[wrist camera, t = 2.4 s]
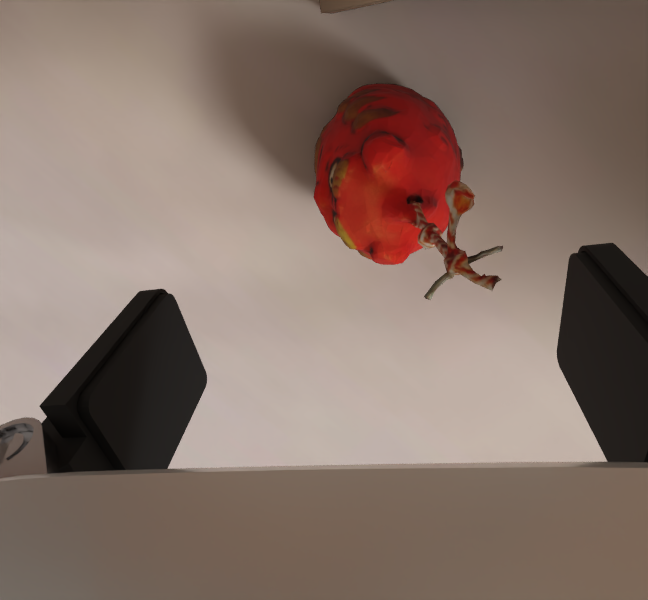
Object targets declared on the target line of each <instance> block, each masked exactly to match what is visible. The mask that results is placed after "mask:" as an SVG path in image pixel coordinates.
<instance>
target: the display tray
mask: <svg viewBox="0 0 648 600" xmlns="http://www.w3.org/2000/svg"><path fill="white" fill-rule="evenodd" d="M388 1H392V0H319V2H320V9H321V13H336V12H341V11H345V10H350V9H355V8H359V7H364V6H369V5H374V4H378V3H383V2H388Z"/></svg>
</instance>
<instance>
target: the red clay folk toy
mask: <svg viewBox="0 0 648 600" xmlns="http://www.w3.org/2000/svg"><path fill="white" fill-rule="evenodd" d="M463 166H464V165H463V158H462V152H461V149H460V147H459V146H458V144H457V140H456V137H455V134H454V131H453V129H452V127H451V125H450V123H449V121H448V120H447V118H446V117H445V115H444V114H443V113H442V111H441V110H440V109H439V108H438V106H437V105H436V104H435V103H434V102H432V101H431V100H429V99H427V98H425V97H422V96H421V95H420V94H418V93H417V92H415V91H414V90H412V89H409V88H406V87H403V86H399V85H395V84H378V83H376V84H369V85H364V86H362V87H359V88H358V89H356V90H355V91H353V92H352V93H351V94H350V95H349V96H348V98H347V99H345V100H344V101H343V102H342V103H341V104H340V105H339V106H338V110H337V114H336V115H335V117H334V118H333V119H332V120H331V121H330V122H329V123H328V124H327V125H326V126H325V127H324V128H323V130H322V132H321V135H320V137H319V138H318V141H317V143H316V148H315V173H316V187H315V192H314V199H315V201H316V204H317V206H318V208H319V210H320V212H321V214H322V215H323V216H324V219H325V221H326V223H327V225H328V227H329V228H330V230H331V231H332V232H333V233H334V234H336V235H337V236H339V237H341V239H342V240H343V242H344V243H345V245H346V246H348V247H349V248H350V249H356V250H358V252H359V253H360V254H361V255H362V256H364V257H366V258H368V259H372V260H373V261H374V262H376V263H379V264H383V265H395V264H399V263H403V262H404V261H405V260H406V259H407V257H408V256H409V254H411V253H413V252H415V251H417V250H419V249H421V248H425V249H428V248H432V247H435V246H436V247H437V249H438V250H439V252H440V253H441V254H442V255H443V256H444V258H445V259H444V264H445V267H446V270H447V273H445V274H444V275H443V276H442V277H440V278H439V279H438V280H437V281H435V283H434V284H433V285H432V287H431V288H430V289H429V291H428V292H427V293H426V295H425V296H424V297H425V298H426V299H429V300H431V299H432V296H433V294H434V292H435V290H436V289H437V288H438V287H439V286H440V285H441V284H443V283H444V282H445V281H446V280H448V279H451V278H453V277H454V275H460V274H461V275H462V276H464V277H466V278H467V279H469V280H470V281H472V282H474V283H475V284H478V285H480V286H482V287H485V288H487V289H489V290H493V288H494V286H495V284H496V283H497V282H498V281H500V280H501V279H500V278H499V277H498V276H490V275H489V276H486V275H485V274H484V275H483V276H480V275H479V274H477V273H476V272H474V271H473V270H472V268H471V267H470V265H469V264H470V263H472V262H474V261H476V260H478V259H480V258H482V257H485V256H488V255H491V254H494V253H497V252H500V251H502V249H503V246H497V247H494V248H492V249H489V250H485V251H481V252H480V253H478V254H477V255H474V256H470V257H467V255H466V252H465V251H462V250H460V249H459V248H457V246H456V244H455V235H456V227H457V224H458V221H459V218H460V217H461V215H462V214H463V213H464V212H466V211H468V210H469V209H471V208H472V206H473V205H474V200H473V199H474V197H475V195H474V194H473V193H472V191H471V189H470V188H469V187H468V186H467V185H466V184H464V183H461V182H460V174H461V171H462V169H463ZM447 226H448V232H447V243H446V242H445V241H444V240H443V239H442V238H441V236H442V234H443V232H444V231H445V229H446V227H447Z"/></svg>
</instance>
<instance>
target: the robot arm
mask: <svg viewBox="0 0 648 600" xmlns="http://www.w3.org/2000/svg"><path fill="white" fill-rule="evenodd" d="M557 359H558V363H559V366H560V368H561V370H562V372H563V374H564V376H565V378H566V380H567V382H568V384H569V386H570V388H571V390H572V392H573V394H574V396H575V398H576V400H577V402H578V404H579V406H580V408H581V410H582V412H583V414H584V416H585V418H586V420H587V422H588V424H589V426H590V428H591V430H592V431H593V433H594V435H595V437H596V439H597V441H598V443H599V445H600V447H601V449H602V451H603V453H604V455H605V457H606V459H607V461H608V462H505V463H435V464H372V465H319V466H270V467H225V468H186V469H167V468H168V466H169V464H170V462H171V460H172V458H173V455H174V453H175V451H176V449H177V447H178V445H179V443H180V440H181V438H182V436H183V434H184V432H185V430H186V428H187V426H188V423H189V421H190V419H191V417H192V415H193V413H194V411H195V408H196V406H197V404H198V402H199V400H200V398H201V396H202V394H203V391H204V389H205V387H206V384H207V375H206V371H205V369H204V367H203V364H202V362H201V359H200V357H199V355H198V352H197V350H196V347H195V345H194V343H193V340H192V338H191V335H190V333H189V331H188V328H187V326H186V323H185V321H184V319H183V316H182V314H181V311H180V309H179V307H178V304H177V302H176V300H175V298H174V296H173V295H172V294H168V293H167V292H166V291H165V290H164V289H156V290H146V291H140V292H139V293H137V294H136V296H135V297H134V298H133V299H132V300H131V301H130V303H129V304H128V305H127V306H126V307H125V308H124V309H123V311H122V312H121V313H120V314H119V315H118V316H117V317H116V319H115V320H114V321H113V322H112V323H111V324H110V326H109V327H108V328H107V329H106V330H105V331H104V332H103V334H102V335H101V336H100V337H99V338H98V339H97V340H96V342H95V343H94V344H93V345H92V346H91V347H90V349H89V350H88V351H87V352H86V353H85V354H84V355H83V357H82V358H81V359H80V360H79V361H78V362H77V364H76V365H75V366H74V367H73V368H72V369H71V370H70V372H69V373H68V374H67V375H66V376H65V377H64V378H63V380H62V381H61V382H60V383H59V384H58V385H57V387H56V388H55V389H54V390H53V391H52V392H51V393H50V395H49V396H48V397H47V398H46V399H45V400H44V401H43V403H42V404H41V405H40V408H41V409H42V410H43V412H44V413H45V415H46V416H47V418H46V419H45V420H44V421H43V423H42V424H41V422H40V421H39V420H37V419H35V418H20V419H16V420H12V421H10V422H7V423H5V424H2V425H1V426H0V600H648V276H646V275H645V274H644V273H643V272H642V271H641V270H640V269H639V268H638V267H637V266H636V265H635V264H634V263H633V262H632V261H631V260H630V259H629V258H628V257H627V256H626V255H625V254H624V253H623V252H622V251H621V250H620V249H619V248H618V247H617V246H616V245H615V244H613V243H606V244H596V245H587V246H582V247H581V248H580V249H579V251H578V253H573V254H571V256H570V258H569V264H568V271H567V279H566V286H565V294H564V301H563V309H562V316H561V324H560V331H559V339H558V346H557Z"/></svg>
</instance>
